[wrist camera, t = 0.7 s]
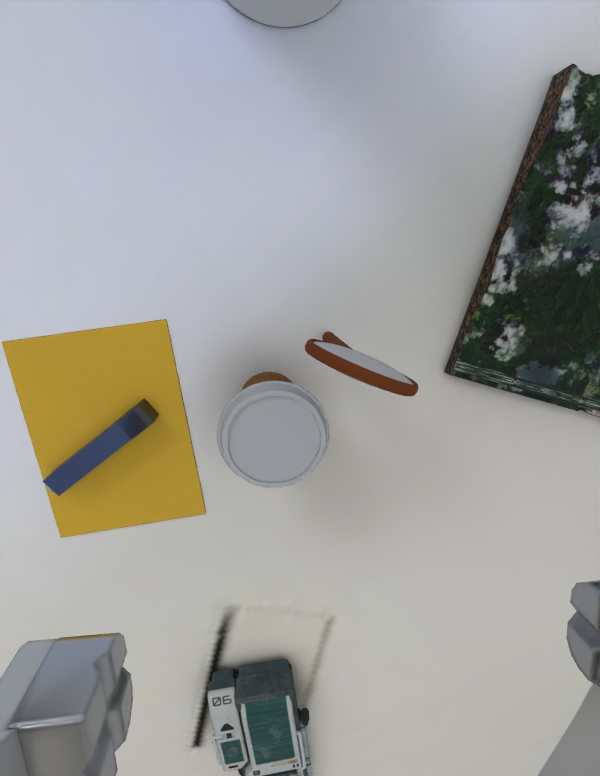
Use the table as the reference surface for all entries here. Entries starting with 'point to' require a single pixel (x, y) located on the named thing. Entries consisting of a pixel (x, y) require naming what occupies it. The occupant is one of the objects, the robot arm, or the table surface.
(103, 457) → the tall navy blue post
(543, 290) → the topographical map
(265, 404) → the disposable coffee cup
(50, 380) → the cloth
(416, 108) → the table surface
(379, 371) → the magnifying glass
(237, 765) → the communication device
